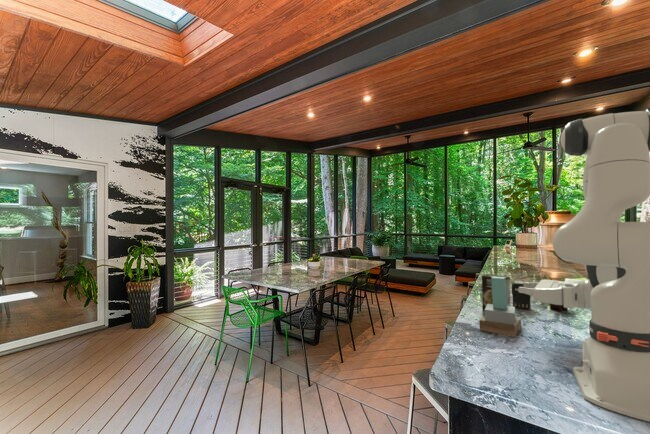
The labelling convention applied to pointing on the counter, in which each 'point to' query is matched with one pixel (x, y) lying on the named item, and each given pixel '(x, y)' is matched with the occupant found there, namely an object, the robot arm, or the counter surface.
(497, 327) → the tower base
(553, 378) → the counter surface
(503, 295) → the teal block
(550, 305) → the mate gourd
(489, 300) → the coffee box
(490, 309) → the tower top
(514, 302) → the battery charger
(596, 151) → the robot arm
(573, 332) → the counter surface
